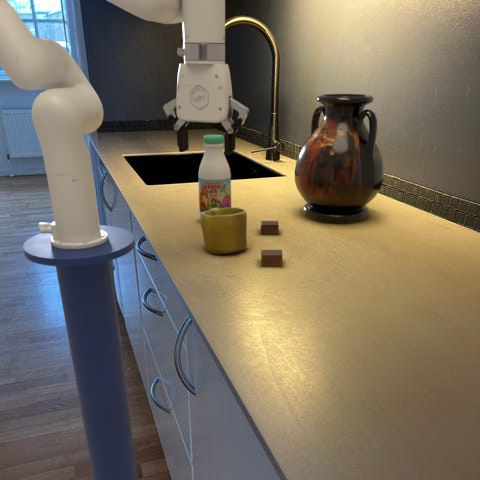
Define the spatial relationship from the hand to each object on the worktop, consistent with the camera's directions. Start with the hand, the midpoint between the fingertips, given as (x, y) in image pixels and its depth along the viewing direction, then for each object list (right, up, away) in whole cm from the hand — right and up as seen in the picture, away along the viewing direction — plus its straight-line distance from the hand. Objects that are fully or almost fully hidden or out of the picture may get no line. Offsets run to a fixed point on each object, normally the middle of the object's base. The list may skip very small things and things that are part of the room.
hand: (206, 152), depth 101 cm
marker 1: (+13, -13, +16) cm, 25 cm away
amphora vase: (+31, -7, +29) cm, 43 cm away
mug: (+3, -18, +7) cm, 19 cm away
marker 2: (+13, -22, -2) cm, 26 cm away
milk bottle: (+1, -9, +24) cm, 26 cm away
